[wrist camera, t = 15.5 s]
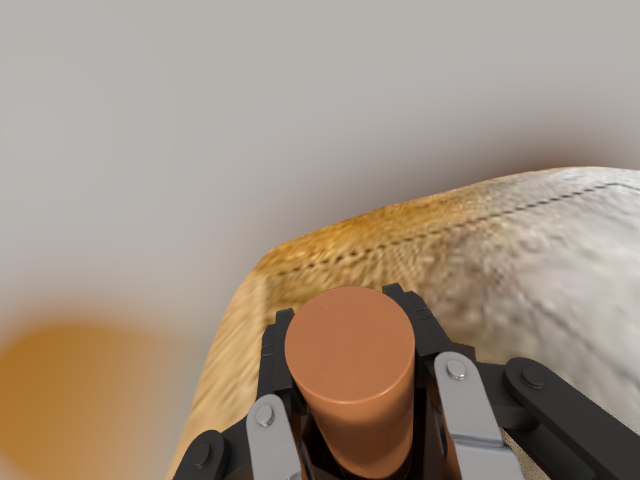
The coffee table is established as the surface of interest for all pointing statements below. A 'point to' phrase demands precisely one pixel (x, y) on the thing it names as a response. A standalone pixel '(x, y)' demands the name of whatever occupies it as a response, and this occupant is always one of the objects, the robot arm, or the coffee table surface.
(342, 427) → the orange cylinder
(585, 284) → the coffee table surface
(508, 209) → the coffee table surface
